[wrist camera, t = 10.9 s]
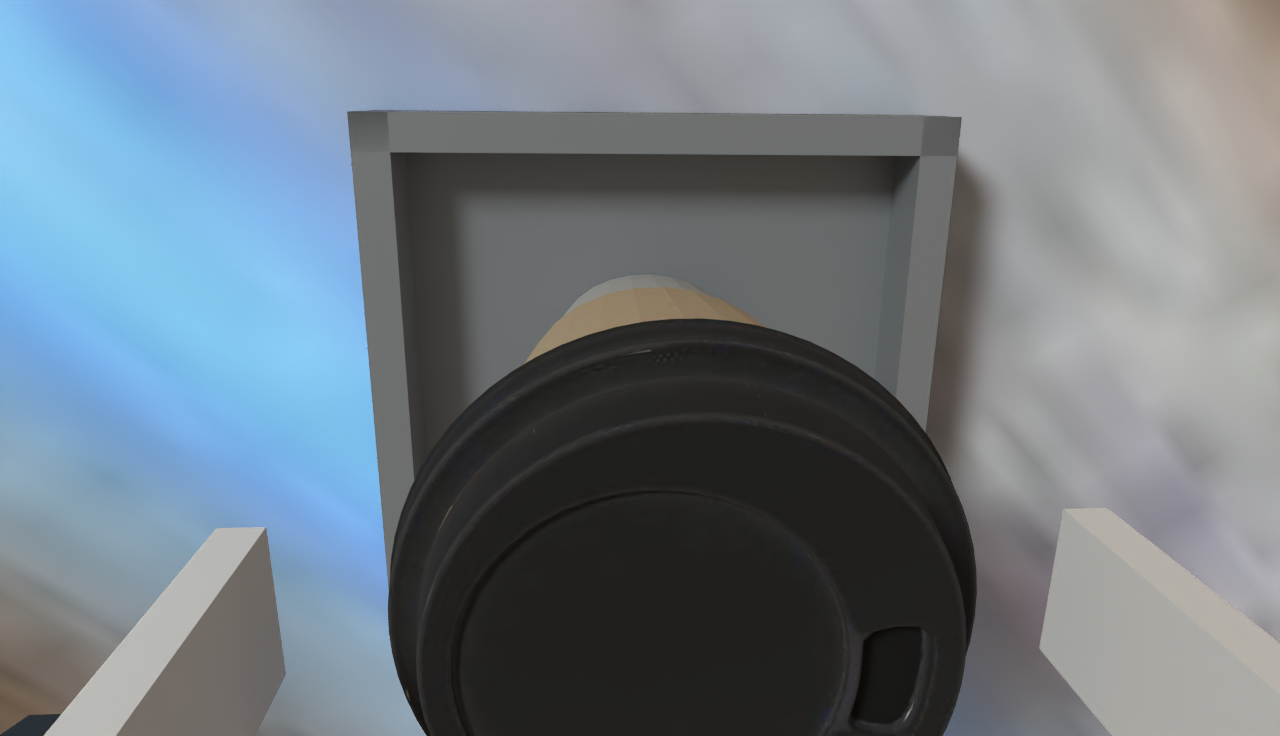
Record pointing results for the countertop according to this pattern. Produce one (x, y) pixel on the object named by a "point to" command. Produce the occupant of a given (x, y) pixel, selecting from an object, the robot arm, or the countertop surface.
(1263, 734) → the robot arm
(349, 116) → the tray
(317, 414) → the countertop surface
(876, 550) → the coffee cup
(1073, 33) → the countertop surface
